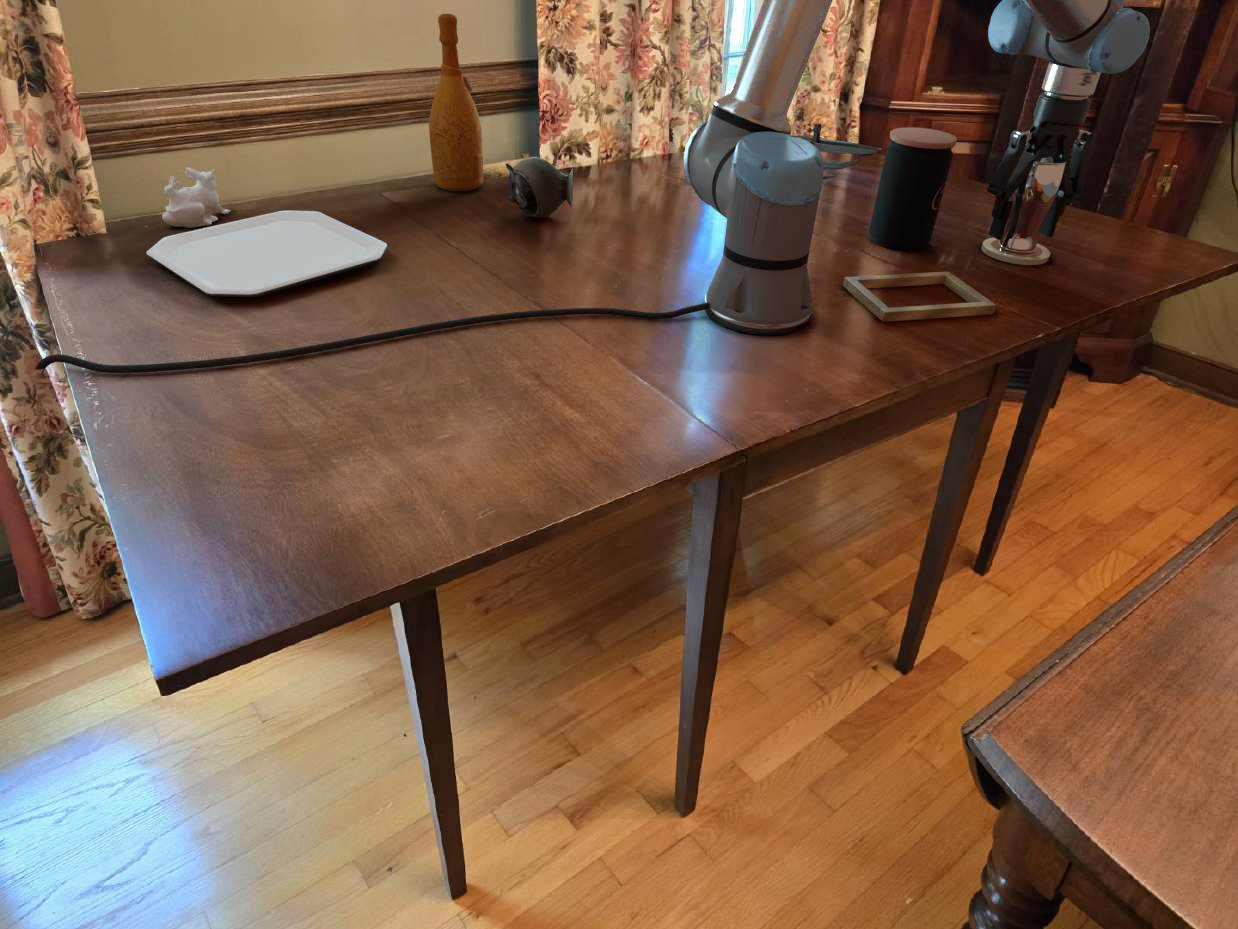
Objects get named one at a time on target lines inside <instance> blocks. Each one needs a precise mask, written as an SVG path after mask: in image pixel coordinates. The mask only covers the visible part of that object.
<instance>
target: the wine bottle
mask: <svg viewBox="0 0 1238 929" xmlns="http://www.w3.org/2000/svg"><path fill="white" fill-rule="evenodd" d="M437 22H438V23H437V24H438V28H439V37H438V40H439V43H440V44H441V51H442V52H441V54H442V58H441V61H442V62H441V66H440V78H439V81H438V84H437V88H436V90H435V94H434V97H433V99H432V102H431V103H432V104H431V108H430V113H429V120H428V132H429V133H428V134H429V145H430V155H431V165H432V173H433V179H434V184H435V185H436V186H437V187H438V188H439V189H441V190H445V191H448V192H469V191H473V190H476V189H478V188H480V187H481V186H482V185H483V184H484V152H483V150H484V149H483V133H482V123H481V119H480V115H479V112H478V109H477V106H476V104H475V100H474V99H473V97H472V94H471V93H474V90H473V87H472V84H471V81H470V79H469V77H468V76H467V75H465V73H464V72H463V70H462V68H461V65H460V61H459V52H458V48H457V47H458V43H459V36H458V18H457V16H456V15H454V14H452V13H441V14H439V16H438V18H437Z"/></svg>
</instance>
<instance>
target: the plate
mask: <svg viewBox="0 0 1238 929" xmlns="http://www.w3.org/2000/svg"><path fill="white" fill-rule="evenodd" d="M387 249H388V244H387V243H386V242H384V241H383V240H380V239H379V238H377V237H374V236H372V235H369V234H367V233H366V232H363V231H361V230H359V229H356V228H355V227H352V226H350V225H348V224H346V223H344V222H342V221H339V220H337V219H335V218H333V217H331V216H328V215H326V214H324V213H323V212H320V211H317V210H316V211H315V210H279V211H274V212H269V213H265V214H261V215H255V216H251V217H248V218H243V219H238V220H234V221H229V222H225V223H220V224H216V225H212V226H207V227H203V228H199V229H194V230H190V231H185V232H181V233H177V234H171V235H167V236H165V237H162V238H161V239H159V241H157V242H156V243H155V244H154V245H153V246H151V247H150V248H149V249H148V250H147V251H146V256H147V257H148V258H149V259H151V260H153V261H155V262H156V263H158V264H159V265H161V267H164V268H165V269H166V270H168V271H170V272H171V273H173V274H174V275H176V276H177V277H179V278H180V279H182V280H183V281H185V282H187V283H188V284H190V285H191V286H192V287H194V288H196V289H197V290H198V291H200V292H202V293H203V294H205V295H206V296H210V297H235V298H237V297H238V298H239V297H240V298H241V297H242V298H243V297H244V298H246V297H247V298H259V297H265V296H269V295H272V294H275V293H279V292H282V291H286V290H289V289H292V288H296V287H300V286H303V285H306V284H311V283H313V282H317V281H321V280H324V279H327V278H331V277H334V276H338V275H341V274H344V273H348V272H351V271H355V270H358V269H361V268H363V267H366V266H369V265H372V264H374V263H377V262H379V261H381V259H383V256H384V255H385V252H386V251H387Z"/></svg>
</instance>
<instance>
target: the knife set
mask: <svg viewBox="0 0 1238 929" xmlns="http://www.w3.org/2000/svg"><path fill="white" fill-rule="evenodd" d="M821 131H822V124H821V123H815V124H814V126H813V135H812V137H807V136H799V135H791V136H792V137H799V138H802V139H804V140H806V141H808V142H810V143H811V144H813V145H814V146H815V147H816V148H817V149H818V150H819V151H820V152H821V153H831V154H843V155H858V157H857V159H854V160H847V161H841V162H831V161H830V162H829V161H824V168H823V171H832V170H844V169H845V168H848V167H853V166H855V165H857V164H858V163H859V161H860V159H861V156H869V157H871V156H873V155H875V154H877V153H878V152H880V151H881V150H883V148H882V147H881V148H880V147H876V146H875V147H874V146H870V145H866V144H861V143H857V142H851V141H843V140H834V139H828V138H827V139H826V138H821ZM834 177H838V175H836V174H835V175H831V174H830V175H826V174H823V181H825V180H829V179H832V178H834Z"/></svg>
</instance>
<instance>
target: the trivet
mask: <svg viewBox="0 0 1238 929" xmlns="http://www.w3.org/2000/svg"><path fill="white" fill-rule="evenodd" d="M998 243H999V240H997V239H996V238H994V237H989V238H986V239H984V240H983V241H982V244H981V251H982V252H983V253H984V254H985V255H986V256H989V257H990V258H992V259H995V260H997V261H1000V262H1004V263H1008V264H1014V265H1019V266H1020V265H1021V266H1039V265H1043V264H1046V263H1048V261H1050V258H1051V251H1050V250H1049V249H1048V248H1047V247H1045V246H1044V245H1041V244H1039V243H1037V246H1036V250H1035V252H1033V253H1028V254H1022V253H1014V252H1010V251H1007V250H1004V249H1002V248H1001V247H999V245H998Z"/></svg>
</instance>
